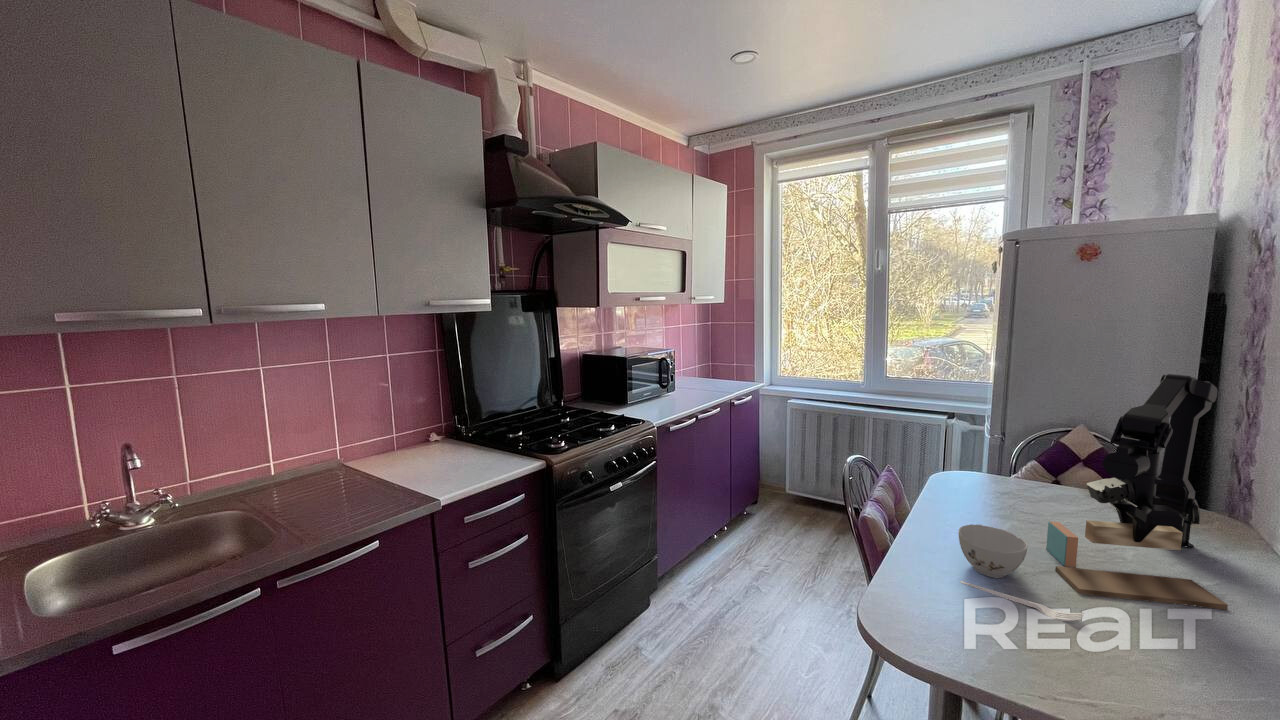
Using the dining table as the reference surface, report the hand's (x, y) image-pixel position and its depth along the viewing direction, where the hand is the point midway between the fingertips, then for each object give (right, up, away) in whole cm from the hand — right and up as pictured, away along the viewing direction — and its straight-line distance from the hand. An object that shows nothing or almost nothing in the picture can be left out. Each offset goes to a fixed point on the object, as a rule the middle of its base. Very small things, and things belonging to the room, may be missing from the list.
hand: (1132, 538), depth 114 cm
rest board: (-8, -7, -9) cm, 14 cm away
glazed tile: (-13, -6, +4) cm, 14 cm away
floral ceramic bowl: (-31, -7, 0) cm, 32 cm away
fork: (-34, -9, -12) cm, 38 cm away
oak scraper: (0, -1, 0) cm, 1 cm away
